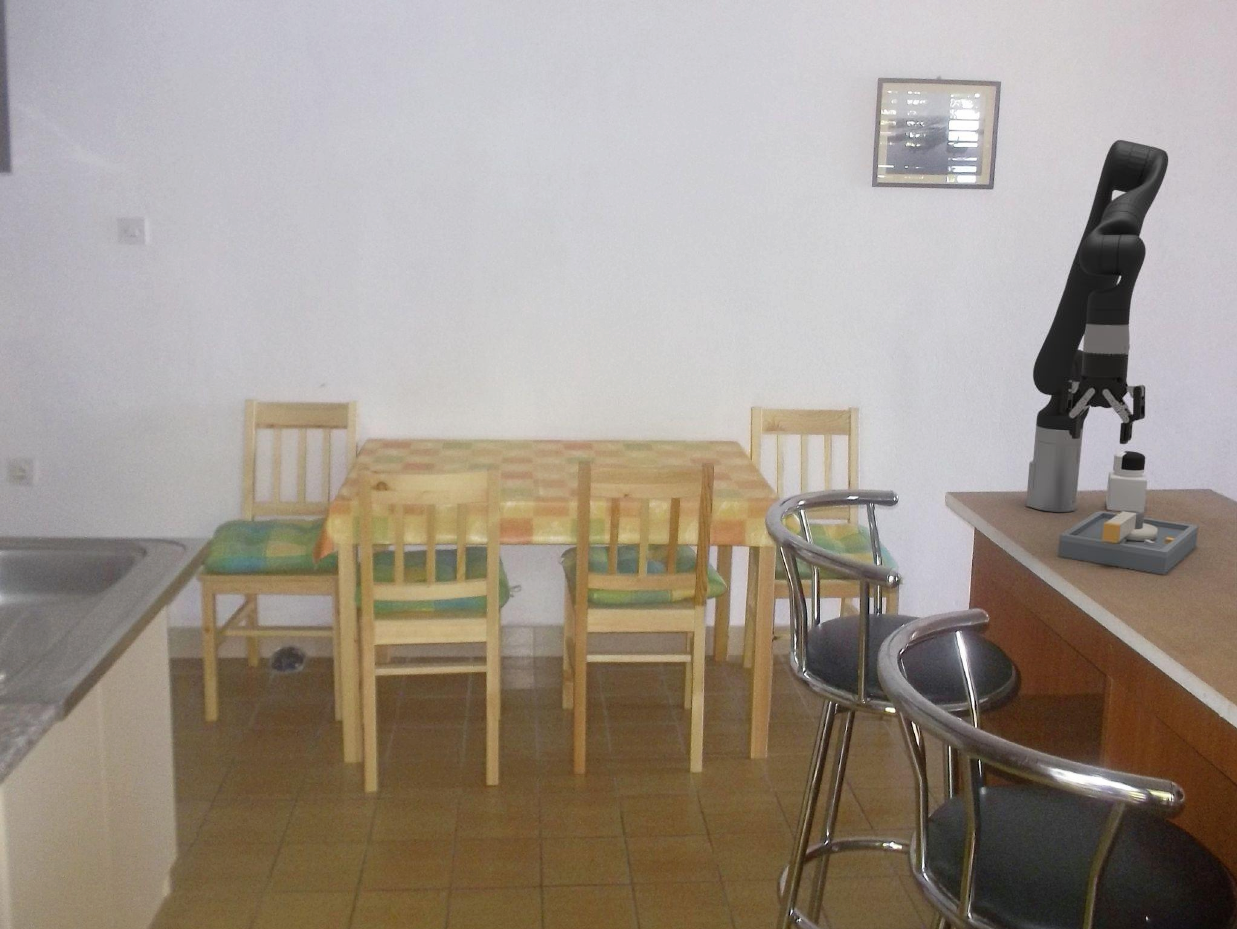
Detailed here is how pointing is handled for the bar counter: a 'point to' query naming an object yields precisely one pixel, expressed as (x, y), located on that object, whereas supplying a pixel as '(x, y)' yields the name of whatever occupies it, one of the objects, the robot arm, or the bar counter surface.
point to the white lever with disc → (1128, 528)
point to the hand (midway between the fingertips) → (1099, 441)
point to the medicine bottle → (1127, 482)
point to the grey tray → (1129, 545)
